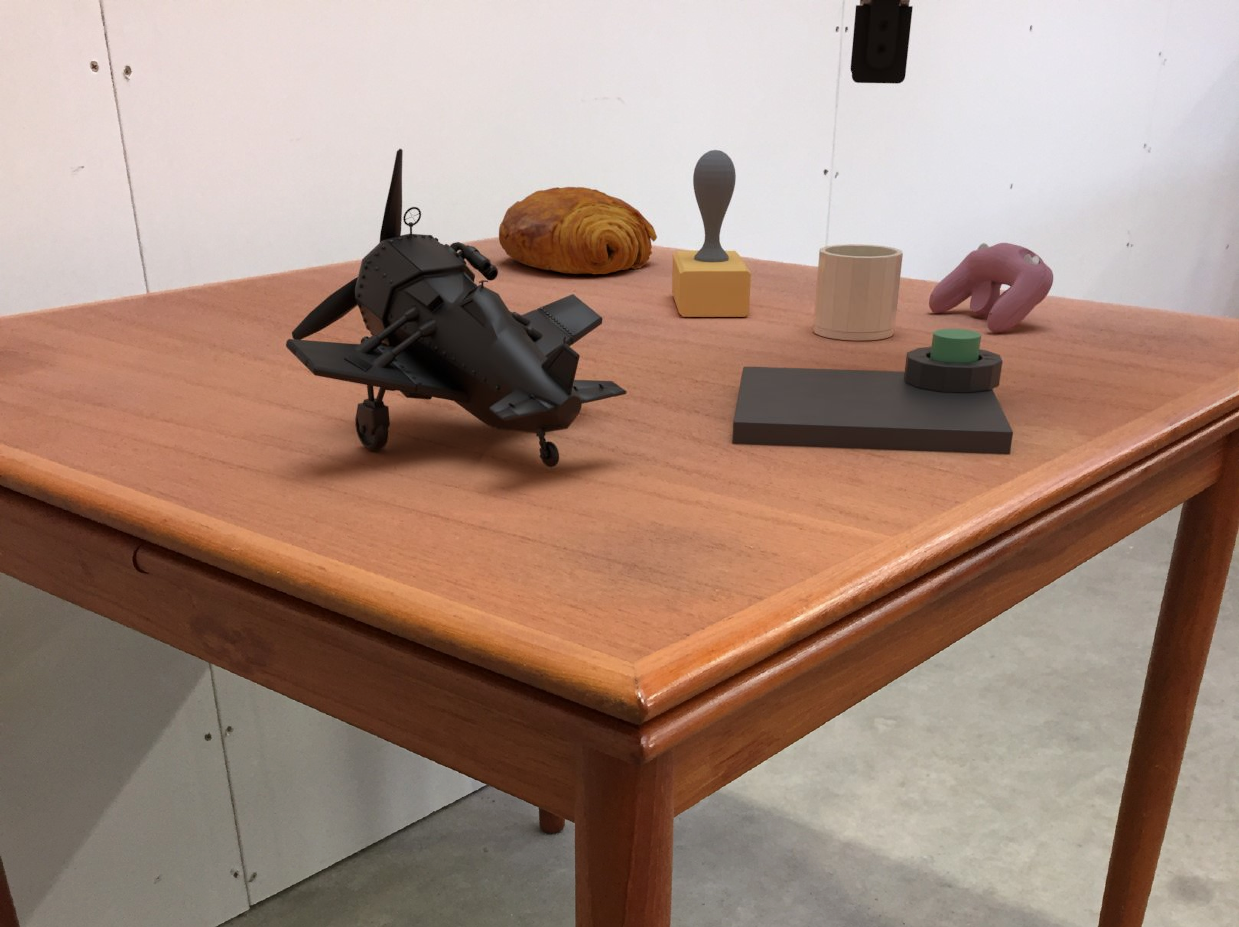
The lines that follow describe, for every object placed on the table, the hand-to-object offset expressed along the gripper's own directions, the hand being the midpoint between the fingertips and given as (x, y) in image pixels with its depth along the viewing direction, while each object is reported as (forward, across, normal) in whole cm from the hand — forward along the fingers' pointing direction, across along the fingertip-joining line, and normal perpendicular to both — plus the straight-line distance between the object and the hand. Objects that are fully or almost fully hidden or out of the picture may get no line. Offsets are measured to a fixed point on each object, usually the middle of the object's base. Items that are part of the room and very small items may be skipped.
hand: (875, 78), depth 86 cm
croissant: (+18, +40, +26) cm, 51 cm away
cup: (+18, +13, 0) cm, 22 cm away
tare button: (+15, -8, -6) cm, 19 cm away
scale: (+18, -13, -1) cm, 22 cm away
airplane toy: (+18, -22, +22) cm, 36 cm away
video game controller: (+18, +19, -11) cm, 29 cm away
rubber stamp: (+18, +22, +12) cm, 31 cm away
